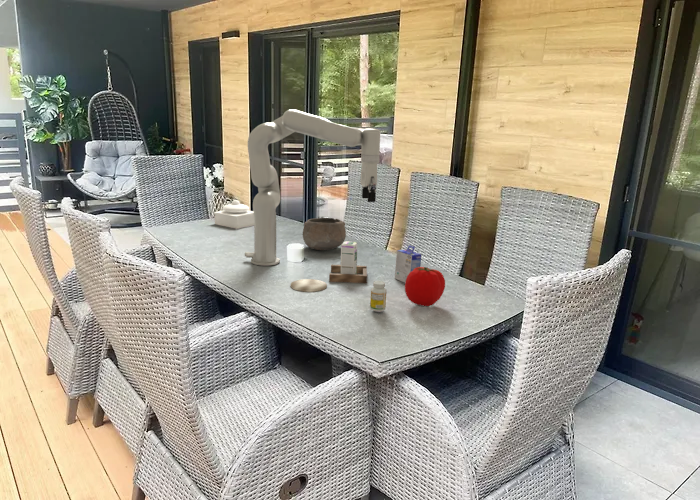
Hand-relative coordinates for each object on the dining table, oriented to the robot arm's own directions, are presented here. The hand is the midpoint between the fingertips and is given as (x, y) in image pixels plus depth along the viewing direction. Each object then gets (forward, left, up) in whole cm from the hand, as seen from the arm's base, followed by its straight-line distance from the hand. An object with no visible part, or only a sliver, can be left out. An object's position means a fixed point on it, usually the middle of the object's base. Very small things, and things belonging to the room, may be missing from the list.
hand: (368, 200), depth 225 cm
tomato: (+21, -42, -30) cm, 56 cm away
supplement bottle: (+4, -50, -30) cm, 59 cm away
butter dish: (-73, +75, -31) cm, 109 cm away
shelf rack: (-7, -14, -30) cm, 34 cm away
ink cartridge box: (+17, -16, -30) cm, 38 cm away
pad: (-22, -28, -30) cm, 47 cm away
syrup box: (-7, -14, -30) cm, 34 cm away
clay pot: (-20, +30, -30) cm, 47 cm away
